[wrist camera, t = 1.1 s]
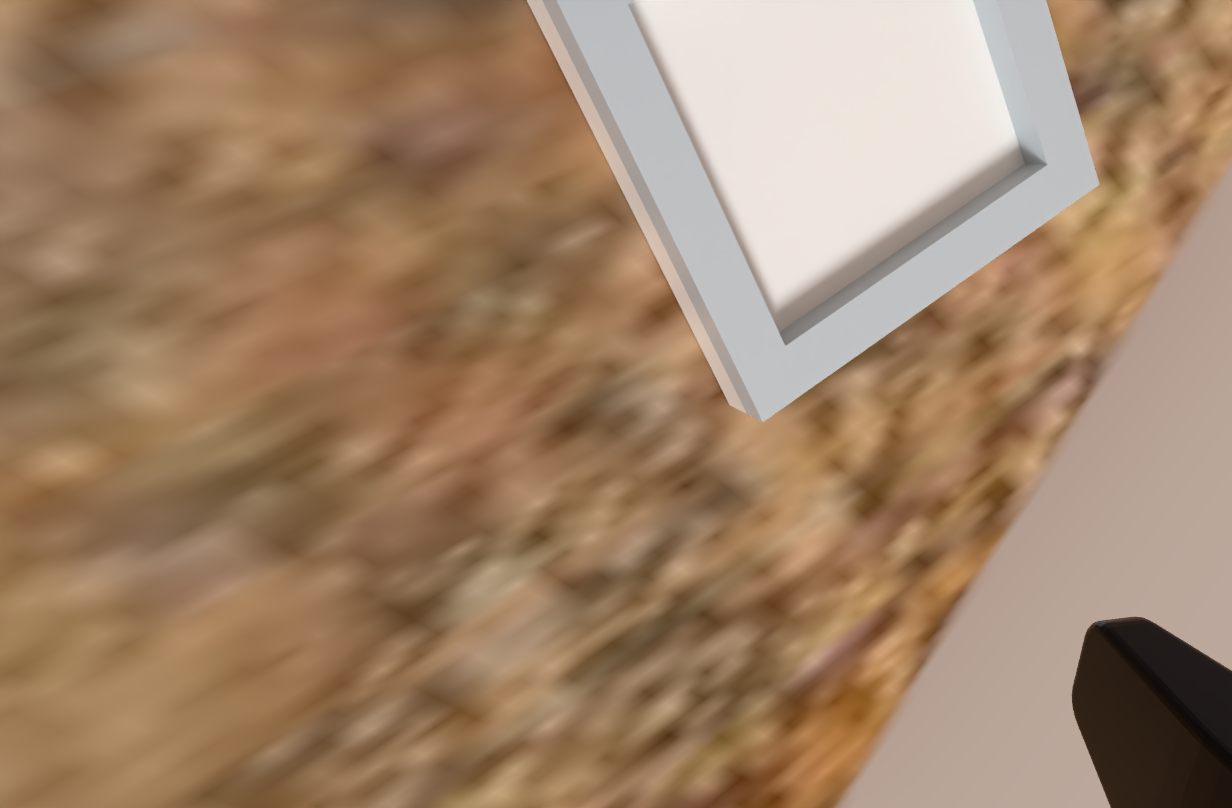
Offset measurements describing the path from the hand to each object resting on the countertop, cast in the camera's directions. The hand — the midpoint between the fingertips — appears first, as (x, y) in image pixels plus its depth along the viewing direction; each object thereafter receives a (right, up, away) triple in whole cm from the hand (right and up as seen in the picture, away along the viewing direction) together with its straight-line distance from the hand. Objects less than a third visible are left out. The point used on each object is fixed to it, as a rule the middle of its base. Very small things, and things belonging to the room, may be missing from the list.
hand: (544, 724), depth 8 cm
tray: (+5, +9, +14) cm, 18 cm away
